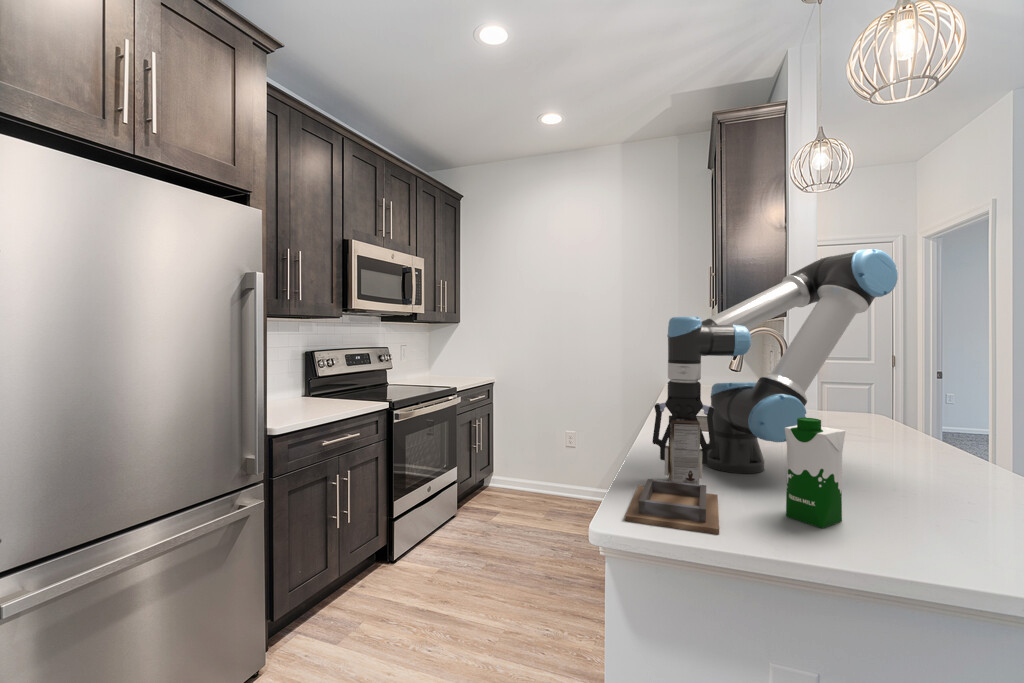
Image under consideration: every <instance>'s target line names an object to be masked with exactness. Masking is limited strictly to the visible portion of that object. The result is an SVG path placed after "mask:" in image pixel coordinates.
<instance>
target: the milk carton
mask: <svg viewBox="0 0 1024 683" xmlns="http://www.w3.org/2000/svg"><path fill="white" fill-rule="evenodd" d="M785 435H786V494H785V496H786V499H785V500H786V503H785V517H787V518H790V519H792V520H796V521H799V522H801V523H805V524H808V525H811V526H813V527H816V528H820V529H825V528H827V527H829V526H832V525H835V523H836V524H837V523H838V524H839V523H841V522H842V521H843V510H842V508H843V505H842V504H843V503H842V502H843V501H842V500H843V499H842V498H843V496H842V495H843V494H842V492H843V451H844V450H843V449H844V443H845V437H846V430H845V429H838V428H832V427H825V426H822V419H818V418H813V417H806V418H797V425H796V426H791V427H786V428H785ZM840 521H841V522H840Z"/></svg>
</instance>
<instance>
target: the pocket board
mask: <svg viewBox="0 0 1024 683" xmlns="http://www.w3.org/2000/svg"><path fill="white" fill-rule="evenodd" d="M718 498H719V497H718V494H715V493H708V492H707V484H700V483H699V484H691V483H682V482H673V481H670V480H661V479H652V478H647V479H646V482H645V485H638V486H637V488H636V491H635V493H634V495H633V497H632V500H631V502H630V503H629V506H628V508H627V511H626V513H625V515H624V521H625V522H631V523H636V524H637V523H638V524H645V525H651V526H657V527H658V526H659V527H664V528H671V529H680V530H685V531H692V532H700V533H707V534H714V535H720V519H719V518H720V516H719V500H718Z"/></svg>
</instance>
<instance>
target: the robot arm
mask: <svg viewBox="0 0 1024 683" xmlns="http://www.w3.org/2000/svg"><path fill="white" fill-rule="evenodd" d="M898 275H899V272H898V269H897V265H896V262H895V261H894V259H893V258H892V257H891V256H890V255H889V254H888V253H887V252H885V251H883V250H880V249H875V248H870V249H865V248H864V249H858V250H856V251H853V252H852V251H851V252H848V253H843V254H837V255H830V256H827V257H826V256H825V257H822V258H820V259H818V260H817V259H816V261H813V262H811V263H810V264H807V265H805V266H804V267H802V268H800V269H798V270H796V271H794V272H792V273H790V274H788V275H786V276H784V277H783V278H782V281H781V282H780V283H778V284H776V285H774V286H772V287H770V288H767V289H766V290H764V291H762V292H760V293H758V294H756V295H753V296H752V297H749V298H747V299H745V300H743V301H741V302H739V303H737V304H735V305H733V306H731V307H729V308H727V309H725V310H723V311H721V312H719V313H717V314H714V315H713V316H711V317H708V318H707V319H704V320H702V318H701V317H700V316H672V317H671V318H670V319H669V321H668V326H667V334H666V335H667V379H668V380H669V381H668V382H667V399H666V400H665V402H661V403H659V402H656V403H655V404H654V406H653V408H654V411H655V419H654V425H653V433H652V434H653V435H652V444H653V445H656V446H659V459H660V461H664V475H665V476H669V475H668V473H669V445H667V442H668V441H669V435H670V425H671V419H687V420H691V421H697V420H698V418H697V416H698V414H699V413H700V411H701V410H703V413H704V414H705V416H706V422H707V430H708V431H707V432H708V439H709V441H708V443H707V442H706V438H705V436H704V433H703V431H702V428H701V427H700V467H699V480H703V465H705V466H707V467H708V468H711V469H714V470H717V471H722V472H726V473H733V474H757V473H762V472H763V471H764V470H765V467H766V466H765V459H764V455H763V452H762V449H761V447H760V444H759V440H758V439H760V440H763V441H765V442H773V443H784V442H786V435H785V428H786V427H791V426H796V425H797V418H807V417H806V415H807V409H806V405H807V403H808V399H807V396H806V392H807V390H808V389H809V387H810V386H811V384H812V382H813V381H814V379H815V378H816V377H817V375H818V373H819V372H820V370H821V368H822V367H823V366H824V365H825V362H826V361H827V360H828V358H829V356H830V355H831V353H832V352H833V350H834V349H835V347H836V345H837V344H838V342H839V340H840V339H841V338H842V336H843V335H844V333H845V332H846V330H847V328H848V327H849V325H850V323H851V322H852V320H853V319H854V318H855V316H856V315H857V314H862V313H865V312H867V311H868V310H869V308H870V306H871V305H872V303H873V302H874V300H875V298H881V297H884V296H887V295H888V294H891V292H893V290H894V289H895V288H896V285H897V283H898V282H897V281H898V278H899V277H898ZM814 303H815V306H814V307H813V308H812V310H811V311H810V313H809V315H808V316H807V318H806V319H805V320H804V322H803V324H802V325H801V327H800V328H799V330H798V331H797V333H796V334H795V336H794V337H793V339H792V340H791V342H790V343H789V346H787V348H786V349H785V351H784V352H783V353H782V356H781V357H780V359H779V360H778V362H777V363H776V365H775V366H774V367H773V370H772V371H771V372H770V374H766V375H763V376H762V375H761V376H760V377H759V379H757V382H756V381H755V382H754V381H753V382H750V381H749V382H745V381H744V382H742V381H741V382H716V383H714V384H713V385H712V386H711V390H710V391H711V392H710V405H705V404H703V401H702V399H701V398H702V397H701V396H702V394H701V393H702V392H701V389H702V388H701V387H702V384H701V382H700V380H701V378H702V364H701V363H702V357H707V356H708V357H709V356H711V357H712V356H713V357H715V356H716V357H718V356H720V357H738V356H743V355H744V356H745V355H746V354H747V353H748V352H749V350H750V349H751V345H752V336H751V332H750V330H751V329H753V328H755V327H757V326H759V325H761V324H763V323H766V322H768V321H770V320H772V319H773V318H776V317H777V316H780V315H782V314H783V313H786V312H788V311H790V310H792V309H794V308H804V307H806V306H809V305H810V304H814ZM666 408H667V410H668V411H669V414H671V416H672V417H671V419H670V421H669V420H668V424H667V427H666V429H665V431H664V434H663V436H662V439H660V431H661V430H660V429H661V423H662V416H663V415H662V414H663V412H664V411H665V409H666ZM786 443H787V442H786Z"/></svg>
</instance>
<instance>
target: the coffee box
mask: <svg viewBox="0 0 1024 683" xmlns="http://www.w3.org/2000/svg"><path fill="white" fill-rule="evenodd" d="M671 417H672V415H668V422H669V421H670V419H671ZM700 428H701V422H699V420H698V419H697V421H691V420H687V419H671V425H670V435H669V438H668V446H669V473H668V475H667V476H668V479H669V480H668V481H673V482H682V483H691V484H700V479H699V467H700V449H701V445H700Z"/></svg>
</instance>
